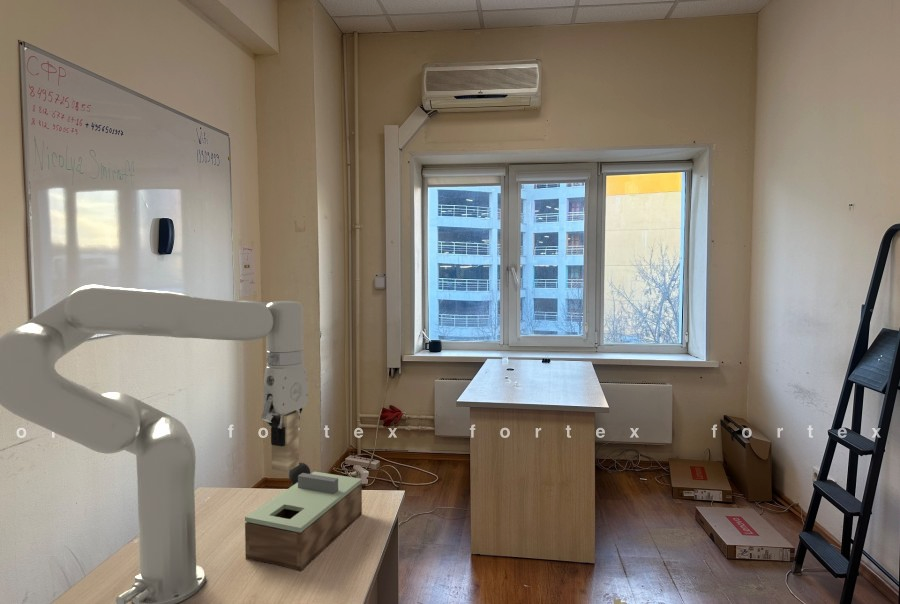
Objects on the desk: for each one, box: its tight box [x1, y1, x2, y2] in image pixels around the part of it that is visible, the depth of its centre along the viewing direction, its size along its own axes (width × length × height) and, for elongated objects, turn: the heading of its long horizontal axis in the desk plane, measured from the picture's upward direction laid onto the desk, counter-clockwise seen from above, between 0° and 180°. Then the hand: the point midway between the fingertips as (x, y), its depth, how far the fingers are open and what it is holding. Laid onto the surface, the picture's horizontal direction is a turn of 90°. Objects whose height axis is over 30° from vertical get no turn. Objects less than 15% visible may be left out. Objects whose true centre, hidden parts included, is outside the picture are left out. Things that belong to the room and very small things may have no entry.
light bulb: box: [288, 462, 311, 486], centre depth 136 cm, size 6×6×10 cm
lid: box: [244, 471, 363, 533], centre depth 117 cm, size 26×14×4 cm, turn 162°
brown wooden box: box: [244, 483, 363, 572], centre depth 118 cm, size 26×14×8 cm, turn 162°
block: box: [271, 411, 300, 473], centre depth 109 cm, size 4×4×12 cm
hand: (285, 441), depth 109 cm, fingers closed on block, 4 cm apart
